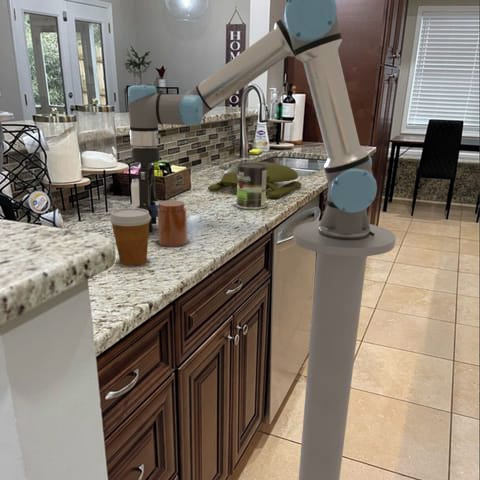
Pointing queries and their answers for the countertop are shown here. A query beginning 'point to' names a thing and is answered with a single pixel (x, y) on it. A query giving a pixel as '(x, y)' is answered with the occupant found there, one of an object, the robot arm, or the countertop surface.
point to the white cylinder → (135, 192)
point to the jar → (172, 223)
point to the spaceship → (273, 175)
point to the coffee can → (251, 185)
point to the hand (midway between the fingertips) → (149, 227)
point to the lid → (153, 210)
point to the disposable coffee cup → (131, 234)
